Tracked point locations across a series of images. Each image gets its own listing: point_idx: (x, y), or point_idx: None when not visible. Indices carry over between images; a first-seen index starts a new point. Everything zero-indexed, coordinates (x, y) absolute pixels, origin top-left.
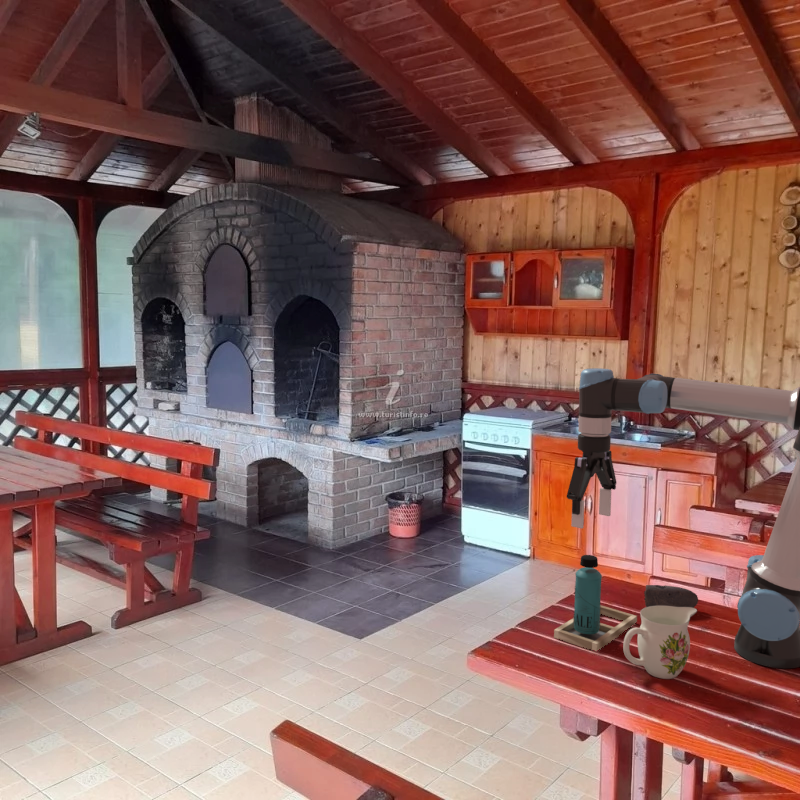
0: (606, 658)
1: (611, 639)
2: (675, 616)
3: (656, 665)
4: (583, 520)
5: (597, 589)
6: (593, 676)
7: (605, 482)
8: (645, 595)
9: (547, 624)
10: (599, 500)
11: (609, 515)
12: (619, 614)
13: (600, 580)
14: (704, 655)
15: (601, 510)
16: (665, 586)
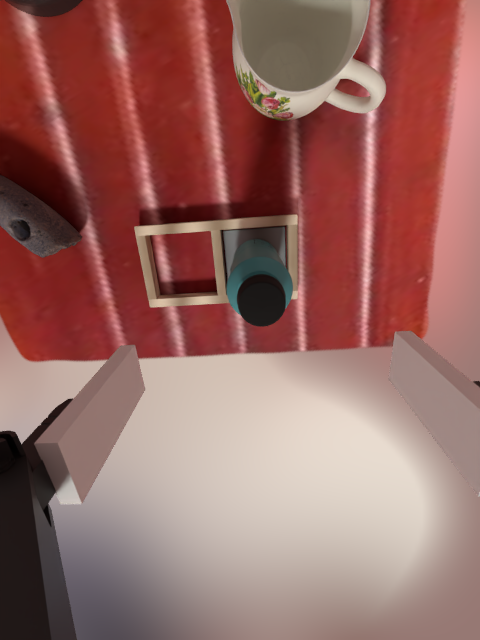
0: (304, 187)
1: (239, 218)
2: (238, 19)
3: (334, 50)
4: (414, 349)
5: (266, 253)
6: (381, 166)
7: (45, 529)
8: (70, 243)
9: (259, 328)
10: (118, 437)
11: (129, 346)
12: (149, 257)
13: (254, 256)
14: (156, 45)
15: (135, 391)
16: (10, 223)
